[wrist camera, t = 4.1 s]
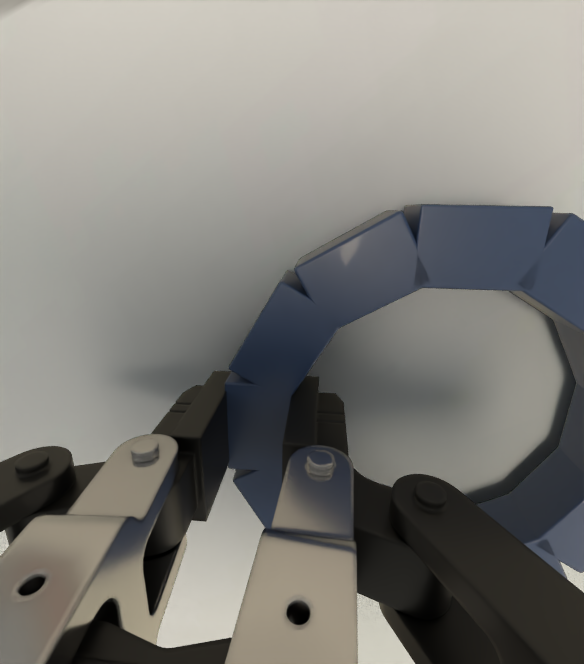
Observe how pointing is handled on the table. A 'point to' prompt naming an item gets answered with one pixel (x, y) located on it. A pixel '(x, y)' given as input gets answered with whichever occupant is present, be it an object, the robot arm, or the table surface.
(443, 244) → the ring
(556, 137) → the table surface
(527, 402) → the table surface
